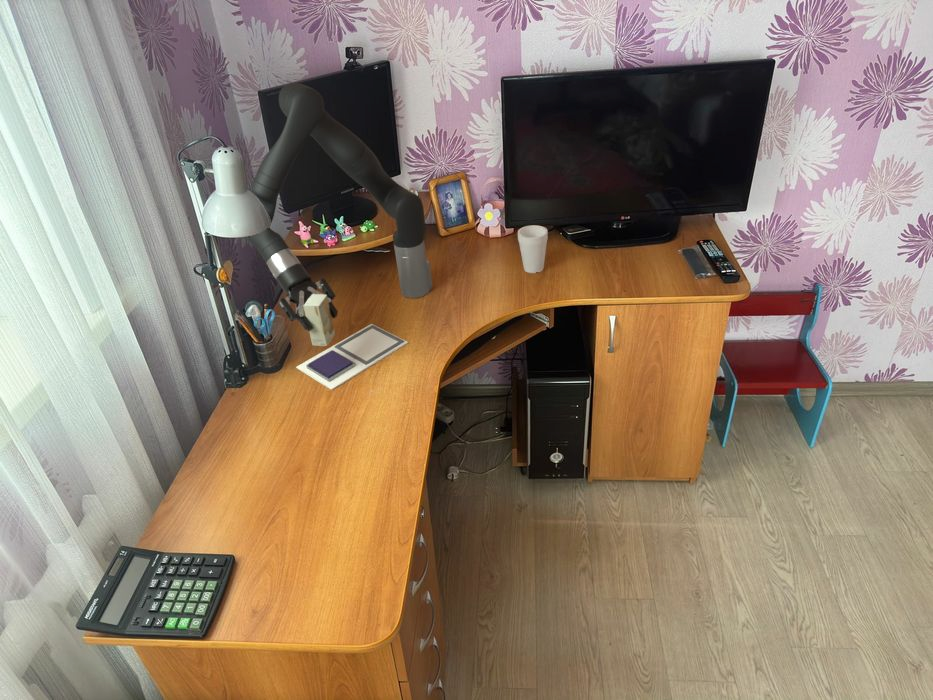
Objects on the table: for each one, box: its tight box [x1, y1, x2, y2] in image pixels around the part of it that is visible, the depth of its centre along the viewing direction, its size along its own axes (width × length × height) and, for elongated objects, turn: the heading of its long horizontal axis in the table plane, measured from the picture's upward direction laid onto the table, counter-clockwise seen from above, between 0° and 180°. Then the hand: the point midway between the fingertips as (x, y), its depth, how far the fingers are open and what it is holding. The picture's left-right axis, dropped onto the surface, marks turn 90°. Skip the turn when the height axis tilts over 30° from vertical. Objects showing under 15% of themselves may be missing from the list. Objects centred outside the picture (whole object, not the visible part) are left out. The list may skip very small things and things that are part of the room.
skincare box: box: [303, 293, 336, 347], centre depth 181 cm, size 6×4×12 cm
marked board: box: [296, 323, 409, 391], centre depth 194 cm, size 27×16×1 cm, turn 136°
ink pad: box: [306, 350, 356, 382], centre depth 189 cm, size 9×10×2 cm
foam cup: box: [517, 224, 549, 274], centre depth 223 cm, size 10×9×13 cm
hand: (323, 323), depth 180 cm, fingers closed on skincare box, 7 cm apart
